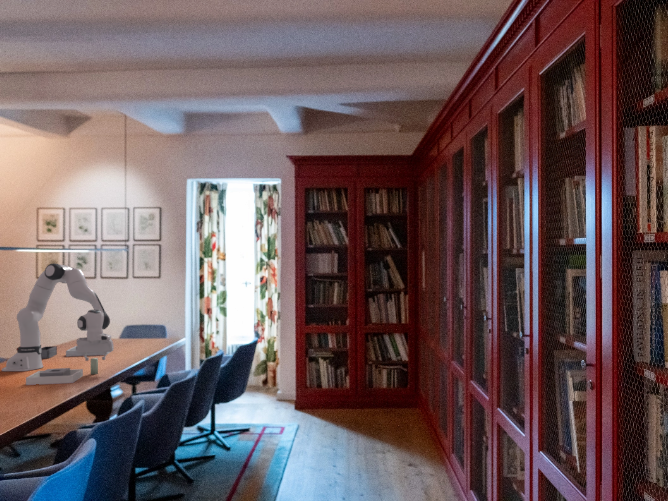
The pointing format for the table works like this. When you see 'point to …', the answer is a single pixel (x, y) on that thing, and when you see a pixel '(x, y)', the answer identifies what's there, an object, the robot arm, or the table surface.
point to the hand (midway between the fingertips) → (95, 360)
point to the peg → (94, 366)
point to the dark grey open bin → (48, 352)
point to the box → (54, 376)
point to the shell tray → (74, 353)
